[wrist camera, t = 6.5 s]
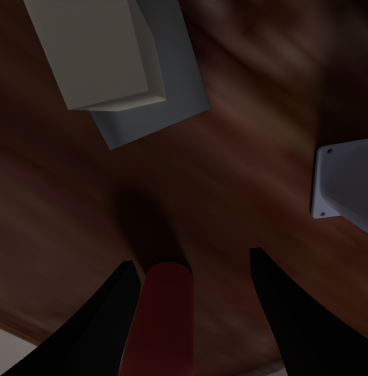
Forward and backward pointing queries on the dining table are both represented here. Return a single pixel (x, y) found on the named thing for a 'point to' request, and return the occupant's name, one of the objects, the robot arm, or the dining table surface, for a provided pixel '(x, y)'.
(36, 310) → the dining table surface
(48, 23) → the cream block
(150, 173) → the dining table surface
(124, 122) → the plate
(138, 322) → the beer can
